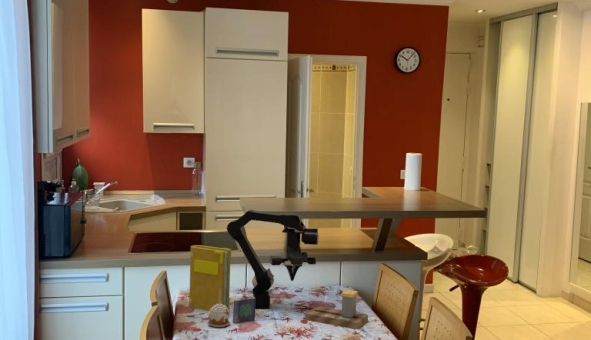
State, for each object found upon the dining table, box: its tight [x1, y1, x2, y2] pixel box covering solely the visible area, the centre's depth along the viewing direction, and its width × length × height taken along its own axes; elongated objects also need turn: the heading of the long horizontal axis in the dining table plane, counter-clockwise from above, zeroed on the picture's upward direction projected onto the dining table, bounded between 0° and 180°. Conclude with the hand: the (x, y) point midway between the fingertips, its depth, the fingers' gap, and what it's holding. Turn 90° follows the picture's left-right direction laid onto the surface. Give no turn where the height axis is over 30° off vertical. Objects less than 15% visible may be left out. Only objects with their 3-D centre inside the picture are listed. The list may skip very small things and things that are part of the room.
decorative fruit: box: [251, 275, 257, 288], centre depth 266 cm, size 9×8×10 cm
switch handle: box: [340, 289, 359, 318], centre depth 226 cm, size 5×6×11 cm
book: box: [188, 244, 232, 312], centre depth 238 cm, size 17×7×25 cm, turn 65°
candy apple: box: [207, 286, 231, 328], centre depth 218 cm, size 8×8×15 cm
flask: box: [232, 293, 256, 324], centre depth 223 cm, size 9×3×11 cm, turn 121°
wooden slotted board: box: [304, 305, 369, 330], centre depth 229 cm, size 22×12×3 cm, turn 64°
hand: (292, 280), depth 241 cm, fingers closed
